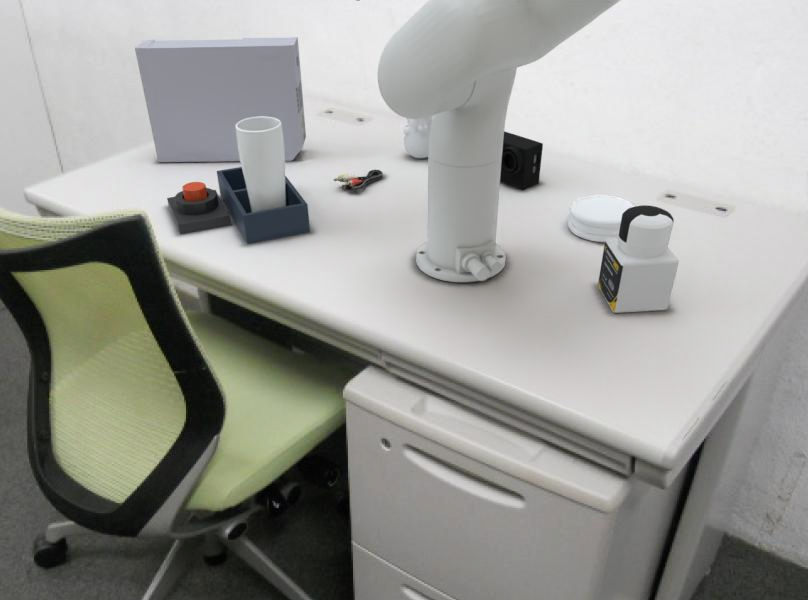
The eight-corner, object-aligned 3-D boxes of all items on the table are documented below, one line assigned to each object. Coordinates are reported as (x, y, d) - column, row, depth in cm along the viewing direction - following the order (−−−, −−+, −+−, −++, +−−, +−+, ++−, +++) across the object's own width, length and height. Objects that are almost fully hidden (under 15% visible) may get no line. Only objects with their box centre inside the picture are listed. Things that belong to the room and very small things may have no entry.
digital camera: (471, 175, 135) (473, 135, 131) (492, 167, 138) (495, 127, 134) (517, 192, 129) (521, 151, 125) (538, 183, 132) (543, 142, 127)
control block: (231, 225, 122) (227, 204, 120) (180, 234, 120) (175, 213, 118) (216, 199, 130) (213, 179, 128) (168, 207, 128) (164, 187, 126)
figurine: (393, 156, 143) (392, 89, 136) (419, 147, 147) (419, 81, 139) (420, 166, 139) (420, 97, 132) (446, 156, 143) (448, 88, 135)
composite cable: (376, 173, 137) (376, 159, 136) (394, 181, 134) (394, 167, 133) (332, 188, 132) (331, 174, 131) (349, 197, 129) (349, 182, 128)
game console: (165, 151, 148) (143, 39, 136) (307, 150, 147) (297, 36, 135) (157, 162, 144) (134, 47, 132) (303, 161, 143) (293, 45, 130)
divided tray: (310, 232, 119) (307, 204, 116) (247, 244, 116) (242, 215, 114) (277, 187, 133) (274, 161, 130) (220, 197, 131) (216, 170, 128)
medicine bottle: (596, 286, 104) (610, 201, 97) (649, 283, 104) (667, 198, 97) (612, 314, 98) (629, 226, 91) (668, 310, 99) (689, 223, 91)
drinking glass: (284, 231, 118) (273, 132, 108) (242, 228, 119) (227, 130, 110) (297, 212, 123) (287, 116, 114) (256, 210, 124) (243, 115, 115)
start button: (209, 200, 122) (207, 188, 121) (186, 204, 121) (184, 192, 120) (205, 191, 125) (203, 180, 124) (182, 195, 124) (180, 183, 123)
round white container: (644, 223, 118) (649, 202, 116) (621, 249, 112) (625, 227, 110) (582, 209, 123) (585, 188, 121) (556, 233, 117) (559, 211, 114)
